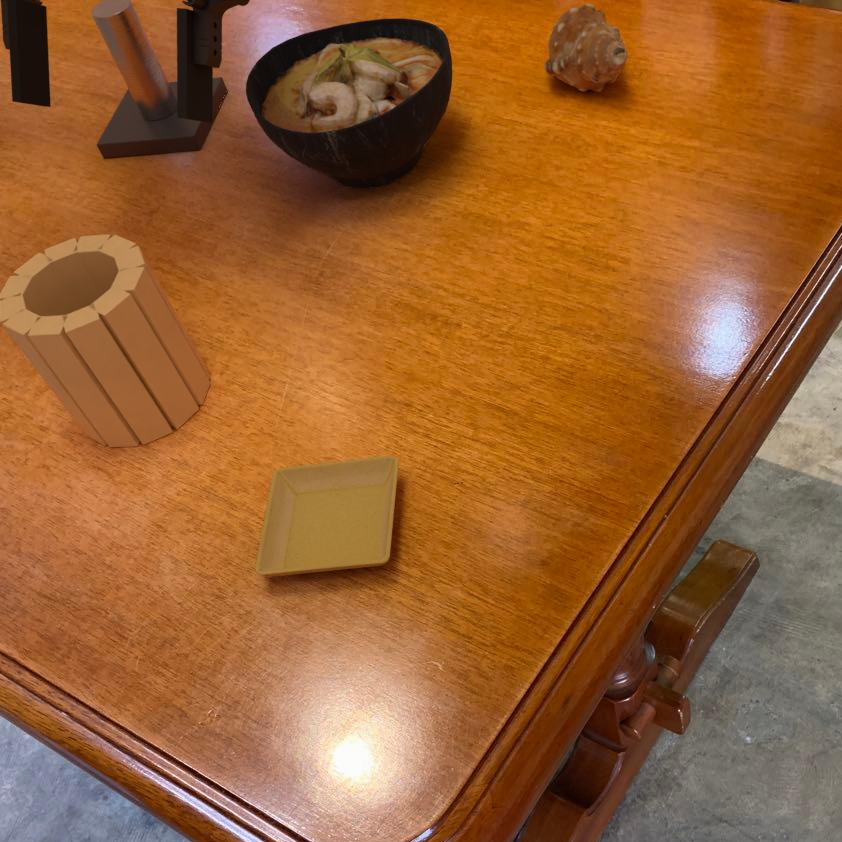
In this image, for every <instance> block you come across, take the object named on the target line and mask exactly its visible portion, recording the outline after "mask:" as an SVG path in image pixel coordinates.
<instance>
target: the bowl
mask: <svg viewBox="0 0 842 842" xmlns="http://www.w3.org/2000/svg"><path fill="white" fill-rule="evenodd" d="M449 42H450V41H449V39H448V37H447V33H445V31H444V30H443V29H442V28H440V27H439V26H437V24H433V23H431V22H428V21H425V20H421V19H415V18H414V19H413V18H402V17H401V18H397V17H396V18H378V19H377V18H376V19H367V20H360V21H356V22H350V23H343V24H338V25H335V26H334V25H333V26H329V27H326V28H320V29H317V30H313V31H308V32H305V33H302V34H299V35H297V36H294V37H292V38H289V39H286V40H284V41H282V42H280V43H278V44H277V45H275V46H273V47H271V48H270V49H269V50H268V51H267V52H265V53H264V54H263V55H262V56H261V57H260V58H259V59H258V60H257V61H256V62H255V64H254V65H253V66H252V68H251V70H250V72H249V74H248V76H247V79H246V83H245V95H246V99H247V102H248V104H249V107H250V109H251V111H252V113H253V115H254V117H255V120H256V121H257V123H258V125H259V127H260V128H261V129H262V131H263V132H264V133H263V134H265V136H266V137H267V138H268V139H269V140H270V141H271V142H272V143H273V144H274V145H275V146H276V147H277V148H279V149H280V150H281V151H282V152H283V153H285V154H286V155H287V156H288V157H289V158H291V159H293V160H295V161H296V162H298V163H300V164H302V165H304V166H305V167H307V168H309V169H311V170H313V171H317V172H319V173H321V174H325V175H328V176H329V177H330V178H331V179H332V180H334V182H335V183H338V184H339V185H341V186H343V187H346V188H351V189H359V190H364V189H365V190H367V189H374V188H380V187H383V186H387V185H390V184H392V183H394V182H397V181H399V180H401V179H402V178H404V177H405V176H408V175H409V174H410V173H411V172H412V171H413V170H414V169H415V168H416V167H417V166H418V164H419V162H420V161H421V160H422V157H423V153H424V149H425V146H426V145H427V144H428V143H429V141H430V139H432V137H433V136H434V134H435V132H436V130H437V129H438V128H439V127H438V126H439V124H440V123H441V121H442V119H443V117H444V116H445V114H446V111H447V108H448V106H449V102H450V99H451V92H452V87H453V58H452V53H451V52H452V51H451V47H450V43H449Z"/></svg>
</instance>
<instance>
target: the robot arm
mask: <svg viewBox="0 0 842 842" xmlns="http://www.w3.org/2000/svg"><path fill="white" fill-rule="evenodd" d="M250 1H251V0H182V1H181V3H182V4H183V5H184V6H187V7H189V8H192V9H189V8H186V7H185V8H183V7H176V82H177V118H183V119H189V120H195V121H201V122H209V123H212V120H213V78H214V76H213V75H214V69H220V67H221V64H222V61H223V59H222V58H223V51H222V50H223V44H222V43H223V17H224V14H225V13H226V12H227V11H228V10H230V9H232V8H234V7H237V6H240V7H245V6H247V5H248V4H249V3H250ZM43 3H44V2H43V1H42V0H0V10H1V11H0V12H1V25H2V26H1V27H2V28H1V29H2V42H3V44H4V48H5V50H9V62H10V64H9V67H10V83H11V84H10V85H11V101H12V103H19V104H26V105H33V106H37V107H38V106H39V107H47V108H51V107H52V105H51V83H50V58H49V37H48V35H49V33H48V11H47V10H48V9H47V6H46V5H44V4H43ZM212 124H213V123H212Z"/></svg>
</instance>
